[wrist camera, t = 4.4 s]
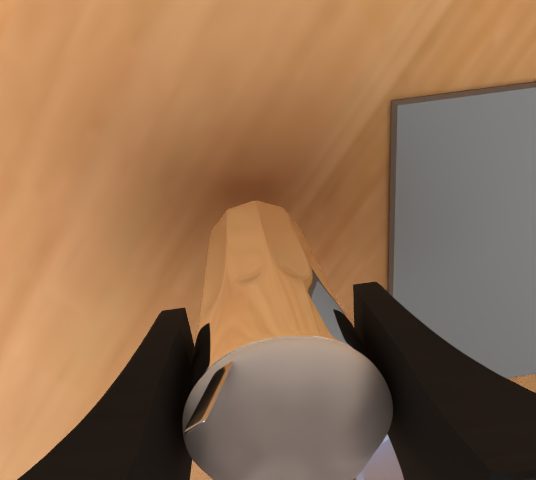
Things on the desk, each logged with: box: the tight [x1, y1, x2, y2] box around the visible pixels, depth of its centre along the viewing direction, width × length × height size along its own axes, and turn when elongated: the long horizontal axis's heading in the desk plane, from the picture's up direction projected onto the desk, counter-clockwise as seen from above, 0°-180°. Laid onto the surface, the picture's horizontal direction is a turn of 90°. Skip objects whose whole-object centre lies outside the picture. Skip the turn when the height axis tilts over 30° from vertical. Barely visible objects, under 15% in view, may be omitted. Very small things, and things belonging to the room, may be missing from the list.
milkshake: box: [182, 200, 393, 480], centre depth 13 cm, size 4×5×10 cm
